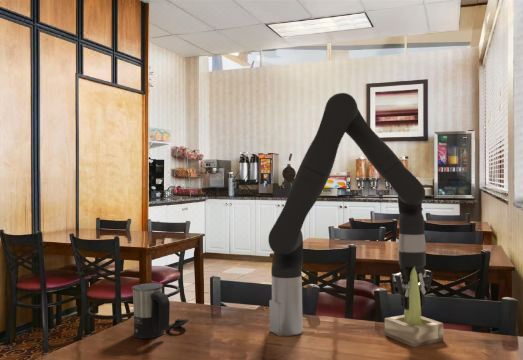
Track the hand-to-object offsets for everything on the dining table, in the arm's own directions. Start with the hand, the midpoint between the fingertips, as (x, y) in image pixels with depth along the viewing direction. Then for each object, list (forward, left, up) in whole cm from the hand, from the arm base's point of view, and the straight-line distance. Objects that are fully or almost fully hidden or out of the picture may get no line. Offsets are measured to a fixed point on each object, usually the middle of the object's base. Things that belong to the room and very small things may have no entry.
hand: (412, 307), depth 144 cm
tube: (0, 0, -7) cm, 7 cm away
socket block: (0, 0, -9) cm, 9 cm away
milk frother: (-63, +42, -9) cm, 76 cm away
